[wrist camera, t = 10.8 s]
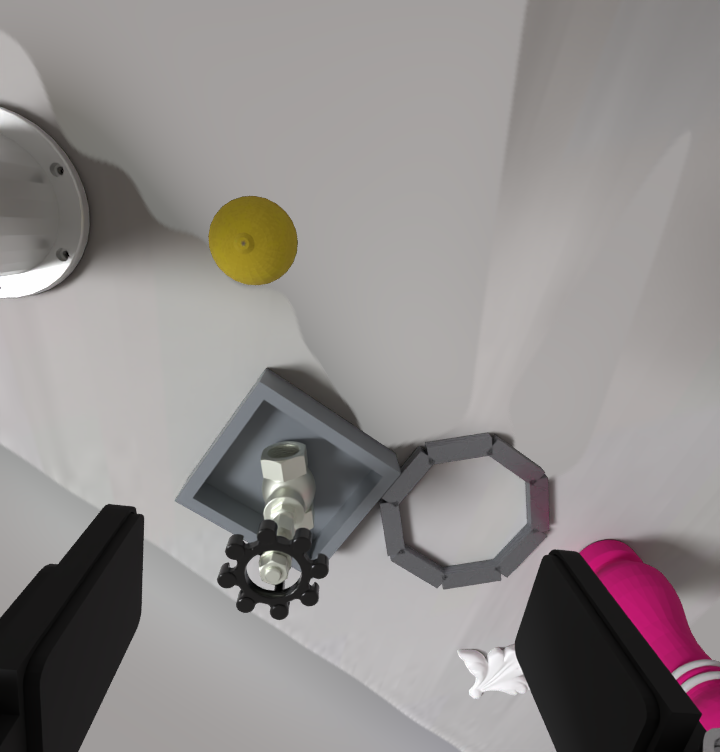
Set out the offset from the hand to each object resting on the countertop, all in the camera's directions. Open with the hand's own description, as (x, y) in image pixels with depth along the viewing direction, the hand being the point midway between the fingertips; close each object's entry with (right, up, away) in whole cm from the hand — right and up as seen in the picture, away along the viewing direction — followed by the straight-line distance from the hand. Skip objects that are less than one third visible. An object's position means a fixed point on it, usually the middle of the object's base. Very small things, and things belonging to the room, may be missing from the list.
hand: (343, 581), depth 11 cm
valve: (-5, -4, +29) cm, 29 cm away
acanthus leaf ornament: (+14, -25, +38) cm, 48 cm away
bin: (-5, -3, +29) cm, 30 cm away
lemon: (-7, +15, +24) cm, 29 cm away
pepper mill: (+23, -13, +34) cm, 43 cm away
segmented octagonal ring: (+10, -7, +31) cm, 33 cm away
